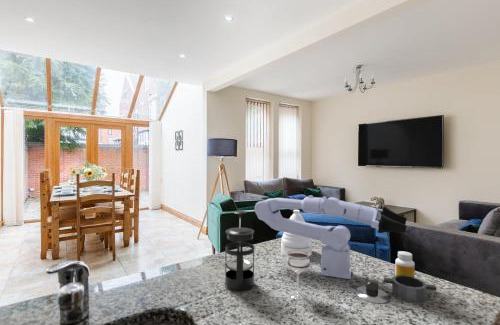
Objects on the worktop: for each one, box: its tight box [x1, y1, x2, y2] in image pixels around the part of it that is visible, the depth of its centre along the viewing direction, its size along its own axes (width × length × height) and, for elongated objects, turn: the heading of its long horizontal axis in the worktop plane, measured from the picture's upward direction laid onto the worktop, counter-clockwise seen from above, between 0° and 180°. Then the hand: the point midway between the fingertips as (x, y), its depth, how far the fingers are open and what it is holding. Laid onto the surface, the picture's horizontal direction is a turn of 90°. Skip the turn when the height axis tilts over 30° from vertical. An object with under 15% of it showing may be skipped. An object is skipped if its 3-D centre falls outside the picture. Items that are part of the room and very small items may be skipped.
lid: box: [354, 279, 390, 304], centre depth 80 cm, size 9×9×4 cm
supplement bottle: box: [394, 250, 416, 277], centre depth 87 cm, size 5×5×10 cm
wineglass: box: [286, 250, 311, 300], centre depth 80 cm, size 7×7×12 cm
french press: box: [224, 210, 255, 293], centre depth 85 cm, size 12×9×23 cm
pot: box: [383, 274, 437, 304], centre depth 80 cm, size 13×9×4 cm, turn 69°
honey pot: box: [280, 209, 313, 257], centre depth 116 cm, size 13×13×18 cm
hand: (406, 225), depth 85 cm, fingers open, 7 cm apart
